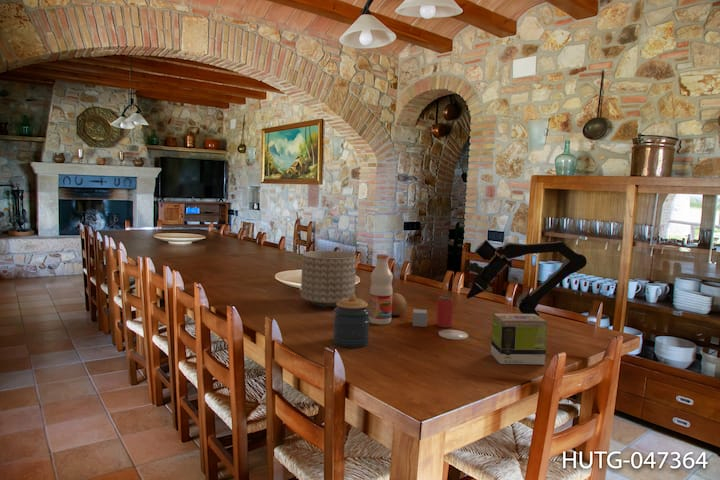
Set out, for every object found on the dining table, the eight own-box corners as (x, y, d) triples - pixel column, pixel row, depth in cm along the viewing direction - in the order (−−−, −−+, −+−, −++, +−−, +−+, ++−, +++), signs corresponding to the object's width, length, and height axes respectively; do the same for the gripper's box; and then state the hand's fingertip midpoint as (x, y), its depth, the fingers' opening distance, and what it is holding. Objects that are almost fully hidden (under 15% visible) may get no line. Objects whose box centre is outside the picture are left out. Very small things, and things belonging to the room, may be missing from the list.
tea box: (532, 355, 162) (536, 313, 161) (545, 365, 152) (548, 321, 151) (489, 354, 162) (492, 311, 160) (499, 364, 152) (502, 319, 150)
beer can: (452, 328, 190) (453, 299, 188) (435, 327, 191) (437, 298, 190) (452, 324, 196) (454, 296, 195) (436, 322, 197) (437, 294, 196)
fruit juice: (375, 317, 202) (377, 252, 199) (394, 321, 198) (398, 255, 195) (364, 322, 194) (367, 255, 191) (384, 326, 190) (387, 257, 187)
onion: (405, 319, 201) (406, 296, 200) (382, 317, 203) (383, 294, 202) (407, 313, 211) (408, 291, 210) (385, 311, 213) (386, 290, 211)
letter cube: (426, 323, 197) (427, 310, 196) (426, 326, 192) (427, 313, 191) (412, 322, 198) (413, 309, 197) (412, 326, 192) (413, 312, 191)
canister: (348, 334, 177) (350, 288, 175) (376, 342, 169) (378, 294, 167) (324, 342, 167) (326, 293, 165) (352, 351, 159) (354, 300, 157)
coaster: (473, 338, 178) (473, 336, 178) (449, 341, 174) (449, 339, 174) (456, 330, 188) (456, 328, 188) (433, 332, 184) (433, 330, 184)
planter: (292, 308, 212) (293, 256, 210) (311, 296, 236) (312, 249, 234) (346, 314, 206) (348, 260, 204) (359, 301, 231) (361, 253, 228)
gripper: (479, 254, 201) (455, 281, 204) (476, 255, 183) (450, 285, 186) (500, 272, 198) (475, 299, 201) (499, 274, 181) (472, 304, 184)
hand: (468, 296), depth 193 cm, fingers open, 9 cm apart
